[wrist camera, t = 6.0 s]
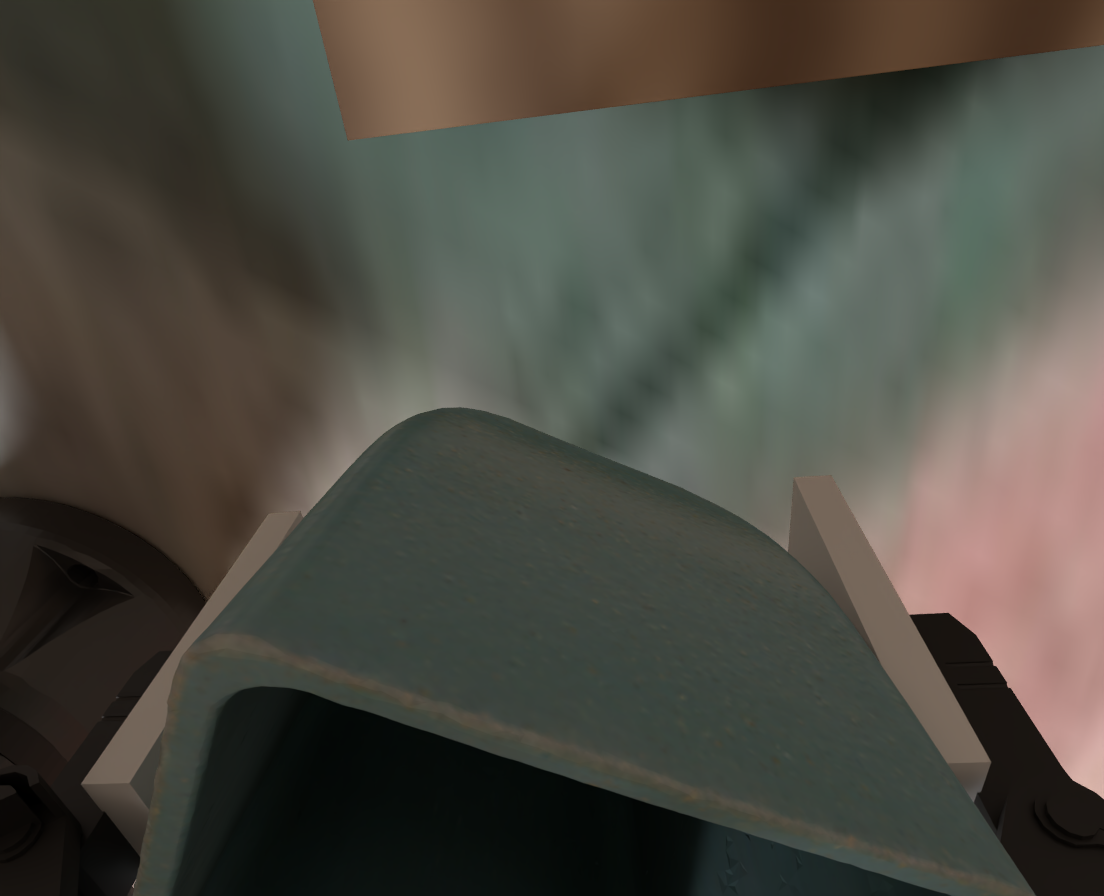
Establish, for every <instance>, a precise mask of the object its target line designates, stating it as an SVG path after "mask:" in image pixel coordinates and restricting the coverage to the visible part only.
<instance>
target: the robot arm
mask: <svg viewBox="0 0 1104 896" xmlns="http://www.w3.org/2000/svg"><path fill="white" fill-rule="evenodd" d="M302 519H303V517H302V514H301V511H296V512H281V513H269V514H268V515H267V517H266V518H265V520H264V521H263V522H262V524H261V525H260V527H259V528H258V530H257V531H256V533H255V534H254V535H253V537H252V538H251V540H250V541H249V543H248V544H247V545H246V547H245V548H244V550H243V551H242V553H241V554H240V556H239V557H238V558H237V560H236V561H235V563H234V564H233V566H232V567H231V569H230V570H229V571H228V573H227V574H226V576H225V577H224V579H223V580H222V581H221V583H220V584H219V586H218V587H217V589H216V590H215V592H214V593H213V594H212V596H211V597H210V599H209V600H208V602H207V603H205V601H204V600H203V598H202V597H201V595H200V594H199V592H198V591H197V590H196V588H195V587H194V586H193V584H192V583H191V582H190V581H189V580H188V578H187V577H186V576H185V575H184V574H183V573H182V572H181V571H180V570H179V569H178V568H177V567H176V566H175V565H174V564H173V563H172V562H171V561H169V560H168V559H167V558H166V557H165V556H163V555H162V554H161V553H160V552H158V551H157V550H156V549H154V548H153V547H152V546H150V545H149V544H147V543H146V542H144V541H143V540H141V539H140V538H138V537H137V536H135V535H133V534H132V533H130V532H128V531H127V530H125V529H123V528H121V527H119V526H117V525H115V524H113V523H111V522H109V521H107V520H105V519H102V518H100V517H98V516H95V515H93V514H90V513H87V512H85V511H82V510H79V509H76V508H72V507H69V506H65V505H62V504H58V503H53V502H48V501H42V500H36V499H26V498H0V896H133V892H134V888H133V887H132V885H133V884H134V882H135V880H136V877H137V873H138V868H139V866H140V855H141V848H142V843H143V837H144V835H145V831H146V827H147V821H148V814H149V809H150V804H151V800H152V796H153V791H154V779H155V775H156V770H157V768H158V763H159V757H160V746H161V739H162V736H163V731H164V728H165V723H166V717H167V709H168V704H167V700H168V697H169V694H170V691H171V685H172V680H173V677H174V674H175V671H176V669H177V667H178V665H179V662H180V659H181V657H182V655H183V654H184V653H185V652H186V651H187V649H188V648H189V647H190V646H191V645H192V644H193V642H194V641H195V640H196V639H197V638H198V637H199V636H200V635H201V634H202V633H203V632H204V631H205V630H206V629H207V628H208V626H209V625H210V624H211V623H212V622H213V621H214V620H215V619H216V617H217V616H218V615H219V614H220V613H221V612H222V610H223V609H224V608H225V607H226V606H227V605H228V603H229V602H230V601H231V600H232V599H233V598H234V597H235V595H236V594H237V593H238V592H239V591H240V590H241V589H242V588H243V586H244V585H245V584H246V583H247V582H248V581H249V580H250V579H251V577H252V576H253V575H254V574H255V573H256V572H257V571H258V570H259V568H260V567H261V566H262V565H263V564H264V563H265V562H266V561H267V559H268V558H269V557H270V556H271V555H272V554H273V553H274V552H275V550H276V549H277V548H278V547H279V546H280V545H281V544H282V542H283V541H284V540H285V539H286V538H287V537H288V536H289V534H290V533H291V532H292V531H293V530H294V529H295V527H296V526H297V525H298V524H299V523H300V522H301V521H302ZM788 553H789V554H790V555H792V556H793V557H794V558H795V559H796V560H797V561H798V562H799V563H800V564H801V565H802V566H803V567H804V568H805V569H806V570H808V571H809V572H810V573H811V574H812V575H813V576H814V578H815V579H816V580H817V581H818V582H819V583H820V584H821V585H822V586H823V587H824V588H825V589H826V590H827V591H828V593H829V594H830V595H831V596H832V597H833V599H834V600H835V601H836V603H837V604H838V605H839V607H840V608H841V609H842V610H843V612H844V613H845V614H846V616H847V617H848V618H849V619H850V621H851V622H852V623H853V625H854V626H855V628H856V629H857V631H858V632H859V634H860V635H861V637H862V638H863V639H864V641H865V642H866V644H867V645H868V647H869V648H870V650H871V651H872V653H873V654H874V655H875V657H876V658H877V660H878V661H879V663H880V664H881V666H882V667H883V669H884V670H885V671H886V673H887V674H888V676H889V677H890V679H891V680H892V682H893V683H894V684H895V686H896V687H897V689H898V690H899V692H900V693H901V695H902V696H903V698H904V699H905V700H906V702H907V703H908V705H909V706H910V708H911V709H912V711H913V712H914V714H915V715H916V717H917V718H918V720H919V721H920V723H921V724H922V726H923V727H924V729H925V730H926V732H927V733H928V735H929V737H930V738H931V740H932V741H933V743H934V744H935V746H936V747H937V749H938V750H939V752H940V753H941V755H942V756H943V758H944V759H945V761H946V762H947V764H948V765H949V767H950V768H951V770H952V771H953V773H954V774H955V776H956V777H957V779H958V780H959V781H960V783H961V784H962V786H963V787H964V789H965V790H966V792H967V793H968V795H969V796H970V798H971V799H972V801H973V802H974V804H975V805H976V807H977V808H978V810H979V811H980V813H981V814H982V816H983V817H984V819H985V820H986V822H987V823H988V825H989V826H990V828H991V829H992V831H993V832H994V834H995V835H996V837H997V838H998V840H999V841H1000V843H1001V844H1002V846H1003V847H1004V849H1005V850H1006V852H1007V853H1008V855H1009V856H1010V858H1011V859H1012V861H1013V862H1014V864H1015V865H1016V867H1017V868H1018V870H1019V871H1020V873H1021V874H1022V876H1023V877H1024V879H1025V880H1026V882H1027V883H1028V885H1029V886H1030V887H1031V889H1032V890H1033V892H1034V893H1035V895H1036V896H1104V799H1103V798H1101V797H1100V796H1099V795H1098V794H1097V793H1095V792H1093V791H1091V790H1090V789H1088V788H1086V787H1084V786H1082V785H1080V784H1078V783H1076V782H1075V781H1073V780H1072V779H1071V778H1070V777H1069V775H1068V774H1067V773H1066V772H1065V770H1064V769H1063V768H1062V766H1061V765H1060V763H1059V762H1058V760H1057V759H1056V757H1055V755H1054V754H1053V752H1052V751H1051V749H1050V748H1049V746H1048V745H1047V743H1046V742H1045V740H1044V739H1043V737H1042V736H1041V734H1040V733H1039V731H1038V729H1037V728H1036V726H1035V725H1034V723H1033V722H1032V720H1031V719H1030V717H1029V716H1028V714H1027V713H1026V711H1025V710H1024V708H1023V706H1022V705H1021V703H1020V702H1019V700H1018V699H1017V697H1016V696H1015V694H1014V693H1013V691H1012V690H1011V688H1008V687H1007V682H1006V680H1005V679H1004V677H1003V676H1002V674H1001V673H1000V671H999V670H998V668H997V667H996V666H994V665H993V660H992V659H991V657H990V656H989V654H988V653H987V651H986V650H985V648H984V647H983V645H982V644H981V642H980V641H979V639H978V638H977V636H976V635H975V634H974V633H973V632H972V631H970V630H969V629H968V628H967V627H965V626H964V625H963V624H962V623H960V622H959V621H958V620H957V619H955V618H954V617H953V616H952V615H950V614H949V613H937V614H915V615H909V614H908V612H907V610H906V608H905V607H904V605H903V603H902V601H901V599H900V598H899V596H898V594H897V592H896V591H895V589H894V587H893V585H892V583H891V582H890V580H889V578H888V576H887V574H886V573H885V571H884V569H883V567H882V565H881V564H880V562H879V560H878V558H877V556H876V555H875V553H874V551H873V549H872V548H871V546H870V544H869V542H868V540H867V539H866V537H865V535H864V533H863V531H862V530H861V528H860V526H859V524H858V522H857V521H856V519H855V517H854V515H853V513H852V512H851V510H850V508H849V506H848V504H847V503H846V501H845V499H844V497H843V496H842V494H841V492H840V490H839V488H838V487H837V485H836V483H835V481H834V479H833V478H832V476H831V475H825V476H810V477H795V478H794V482H793V494H792V507H791V520H790V533H789V546H788Z"/></svg>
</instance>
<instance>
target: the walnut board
mask: <svg viewBox="0 0 1104 896" xmlns="http://www.w3.org/2000/svg"><path fill="white" fill-rule="evenodd" d="M313 3H314V7H315V11H316V15H317V19H318V23H319V27H320V31H321V35H322V39H323V43H324V47H325V51H326V55H327V59H328V63H329V67H330V71H331V75H332V79H333V83H334V87H335V91H336V95H337V99H338V103H339V107H340V111H341V115H342V119H343V123H344V127H345V131H346V135H347V139H348V140H355V139H363V138H371V137H379V136H387V135H395V134H402V133H410V132H418V131H426V130H434V129H442V128H450V127H458V126H466V125H474V124H482V123H489V122H497V121H505V120H513V119H521V118H529V117H537V116H545V115H553V114H561V113H569V112H576V111H584V110H592V109H600V108H608V107H616V106H624V105H632V104H640V103H648V102H656V101H663V100H671V99H679V98H687V97H695V96H703V95H711V94H719V93H727V92H735V91H743V90H751V89H758V88H766V87H774V86H782V85H790V84H798V83H806V82H814V81H822V80H830V79H838V78H845V77H853V76H861V75H869V74H877V73H885V72H893V71H901V70H909V69H917V68H925V67H932V66H940V65H948V64H956V63H964V62H972V61H980V60H988V59H996V58H1004V57H1012V56H1019V55H1027V54H1035V53H1043V52H1051V51H1059V50H1067V49H1075V48H1083V47H1091V46H1099V45H1104V0H313Z"/></svg>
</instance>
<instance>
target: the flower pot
mask: <svg viewBox="0 0 1104 896" xmlns="http://www.w3.org/2000/svg"><path fill="white" fill-rule="evenodd" d="M167 704H168V709H167V717H166V723H165V728H164V731H163V736H162V739H161V746H160V757H159V763H158V768H157V770H156V775H155V779H154V791H153V796H152V800H151V804H150V809H149V814H148V821H147V827H146V831H145V835H144V837H143V843H142V848H141V855H140V866H139V868H138V873H137V877H136V882H135V884H134V892H133V896H1036V895H1035V893H1034V892H1033V890H1032V889H1031V887H1030V886H1029V885H1028V883H1027V882H1026V880H1025V879H1024V877H1023V876H1022V874H1021V873H1020V871H1019V870H1018V868H1017V867H1016V865H1015V864H1014V862H1013V861H1012V859H1011V858H1010V856H1009V855H1008V853H1007V852H1006V850H1005V849H1004V847H1003V846H1002V844H1001V843H1000V841H999V840H998V838H997V837H996V835H995V834H994V832H993V831H992V829H991V828H990V826H989V825H988V823H987V822H986V820H985V819H984V817H983V816H982V814H981V813H980V811H979V810H978V808H977V807H976V805H975V804H974V802H973V801H972V799H971V798H970V796H969V795H968V793H967V792H966V790H965V789H964V787H963V786H962V784H961V783H960V781H959V780H958V779H957V777H956V776H955V774H954V773H953V771H952V770H951V768H950V767H949V765H948V764H947V762H946V761H945V759H944V758H943V756H942V755H941V753H940V752H939V750H938V749H937V747H936V746H935V744H934V743H933V741H932V740H931V738H930V737H929V735H928V733H927V732H926V730H925V729H924V727H923V726H922V724H921V723H920V721H919V720H918V718H917V717H916V715H915V714H914V712H913V711H912V709H911V708H910V706H909V705H908V703H907V702H906V700H905V699H904V698H903V696H902V695H901V693H900V692H899V690H898V689H897V687H896V686H895V684H894V683H893V682H892V680H891V679H890V677H889V676H888V674H887V673H886V671H885V670H884V669H883V667H882V666H881V664H880V663H879V661H878V660H877V658H876V657H875V655H874V654H873V653H872V651H871V650H870V648H869V647H868V645H867V644H866V642H865V641H864V639H863V638H862V637H861V635H860V634H859V632H858V631H857V629H856V628H855V626H854V625H853V623H852V622H851V621H850V619H849V618H848V617H847V616H846V614H845V613H844V612H843V610H842V609H841V608H840V607H839V605H838V604H837V603H836V601H835V600H834V599H833V597H832V596H831V595H830V594H829V593H828V591H827V590H826V589H825V588H824V587H823V586H822V585H821V584H820V583H819V582H818V581H817V580H816V579H815V578H814V576H813V575H812V574H811V573H810V572H809V571H808V570H806V569H805V568H804V567H803V566H802V565H801V564H800V563H799V562H798V561H797V560H796V559H795V558H794V557H793V556H792V555H790V554H789V553H788V552H787V551H786V550H785V549H783V548H782V547H781V546H780V545H779V544H777V543H776V542H775V541H774V540H772V539H771V538H770V537H769V536H767V535H766V534H764V533H763V532H761V531H760V530H758V529H757V528H755V527H754V526H753V525H751V524H749V523H748V522H746V521H745V520H743V519H742V518H740V517H738V516H737V515H735V514H733V513H731V512H729V511H727V510H725V509H724V508H722V507H720V506H718V505H716V504H714V503H712V502H710V501H708V500H706V499H703V498H701V497H699V496H697V495H695V494H693V493H691V492H689V491H687V490H685V489H683V488H681V487H678V486H676V485H673V484H671V483H668V482H665V481H663V480H660V479H658V478H655V477H653V476H650V475H648V474H645V473H643V472H640V471H638V470H635V469H633V468H630V467H627V466H625V465H622V464H620V463H617V462H615V461H612V460H610V459H607V458H605V457H602V456H599V455H597V454H594V453H592V452H589V451H587V450H585V449H582V448H580V447H577V446H575V445H572V444H570V443H567V442H565V441H562V440H560V439H557V438H555V437H552V436H550V435H547V434H545V433H543V432H540V431H538V430H535V429H533V428H531V427H528V426H526V425H523V424H521V423H518V422H516V421H514V420H511V419H509V418H506V417H502V416H499V415H496V414H492V413H489V412H485V411H481V410H475V409H469V408H461V407H460V408H441V409H436V410H432V411H428V412H424V413H420V414H417V415H415V416H413V417H410V418H408V419H406V420H405V421H403V422H401V423H399V424H397V425H396V426H394V427H392V428H391V429H390V430H388V431H387V432H385V433H384V434H383V435H382V436H381V437H380V438H378V439H377V440H376V441H375V442H374V443H373V444H372V445H371V446H370V447H368V448H367V449H366V450H365V451H364V452H363V453H362V455H361V456H360V457H359V458H358V459H357V460H356V461H355V462H354V463H353V464H352V465H351V466H350V467H349V468H348V469H347V471H346V472H345V473H344V474H343V475H342V476H341V477H340V478H339V479H338V480H337V482H336V483H335V484H334V485H333V486H332V487H331V488H330V489H329V491H328V492H327V493H326V494H325V495H324V496H323V497H322V498H321V499H320V501H319V502H318V503H317V504H316V505H315V506H314V507H313V508H312V509H311V510H310V512H309V513H308V514H307V515H306V516H305V517H304V518H303V519H302V521H301V522H300V523H299V524H298V525H297V526H296V527H295V529H294V530H293V531H292V532H291V533H290V534H289V536H288V537H287V538H286V539H285V540H284V541H283V542H282V544H281V545H280V546H279V547H278V548H277V549H276V550H275V552H274V553H273V554H272V555H271V556H270V557H269V558H268V559H267V561H266V562H265V563H264V564H263V565H262V566H261V567H260V568H259V570H258V571H257V572H256V573H255V574H254V575H253V576H252V577H251V579H250V580H249V581H248V582H247V583H246V584H245V585H244V586H243V588H242V589H241V590H240V591H239V592H238V593H237V594H236V595H235V597H234V598H233V599H232V600H231V601H230V602H229V603H228V605H227V606H226V607H225V608H224V609H223V610H222V612H221V613H220V614H219V615H218V616H217V617H216V619H215V620H214V621H213V622H212V623H211V624H210V625H209V626H208V628H207V629H206V630H205V631H204V632H203V633H202V634H201V635H200V636H199V637H198V638H197V639H196V640H195V641H194V642H193V644H192V645H191V646H190V647H189V648H188V649H187V651H186V652H185V653H184V654H183V655H182V657H181V659H180V662H179V665H178V667H177V669H176V671H175V674H174V677H173V680H172V685H171V691H170V694H169V697H168V700H167Z"/></svg>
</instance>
